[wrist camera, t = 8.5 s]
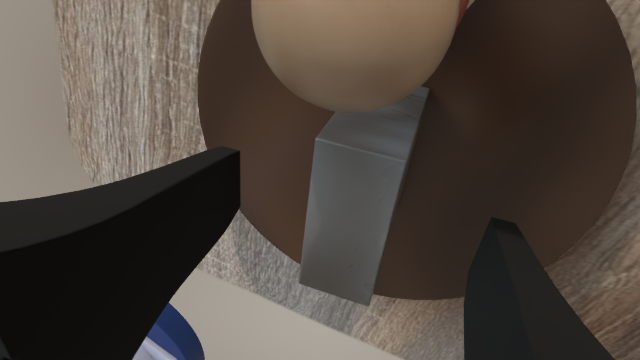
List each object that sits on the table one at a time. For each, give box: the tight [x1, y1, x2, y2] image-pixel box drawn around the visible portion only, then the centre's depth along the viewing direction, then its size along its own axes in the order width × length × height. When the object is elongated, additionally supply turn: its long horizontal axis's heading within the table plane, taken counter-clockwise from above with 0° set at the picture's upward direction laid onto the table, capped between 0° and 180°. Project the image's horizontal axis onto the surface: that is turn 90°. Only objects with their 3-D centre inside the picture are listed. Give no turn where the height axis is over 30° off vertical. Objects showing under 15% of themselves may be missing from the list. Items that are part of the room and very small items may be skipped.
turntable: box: [198, 0, 636, 306], centre depth 12 cm, size 15×15×10 cm
